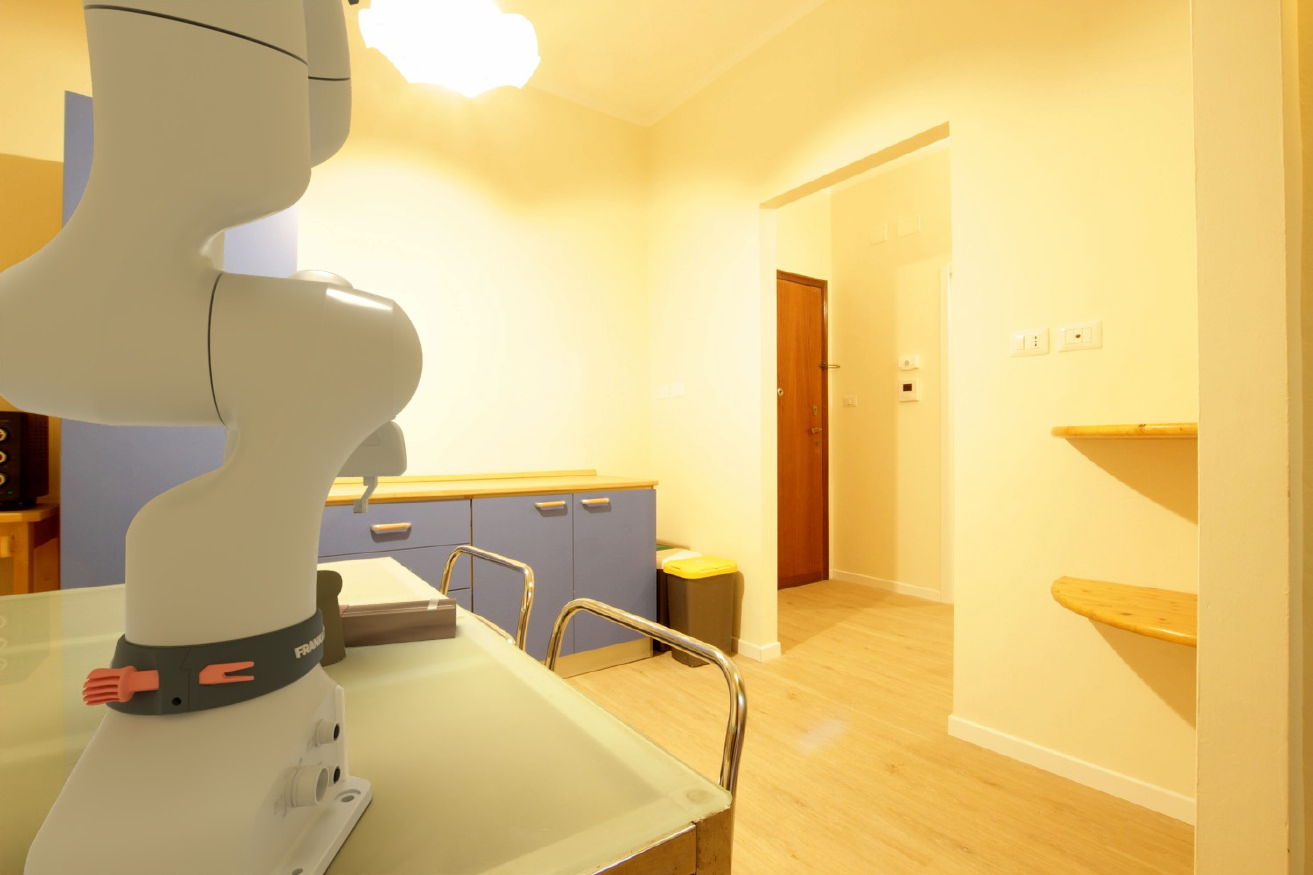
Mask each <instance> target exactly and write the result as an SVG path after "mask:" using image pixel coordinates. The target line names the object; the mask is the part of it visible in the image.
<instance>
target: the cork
mask: <svg viewBox="0 0 1313 875" xmlns="http://www.w3.org/2000/svg"><path fill="white" fill-rule="evenodd" d="M343 581H344V580H343V578H342V575H341V574H340V573H339V572H337V571H335V570H330V569H320V570H318V569H317V582H316V607H317V608H319V609H320V610H321V611H322V619H323V625H324V630H325V637H324V640H323V657H322V659H321V660H320V664H321V666H322V667H326V666H330V665H334V664H336V663H339V662H341V661H343V660H344V659H345V658H346V656H347V653H346V647H345V645H344V638H343V631H342V624H341V617H340V610H339V605H340V603H339V595H340V593H341V592H342V588H343Z"/></svg>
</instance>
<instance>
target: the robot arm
mask: <svg viewBox="0 0 1313 875" xmlns="http://www.w3.org/2000/svg"><path fill="white" fill-rule="evenodd" d="M347 1H348V3H349V5H350V6H354V5H358V4H359V3H360V0H347ZM82 8H83V17H84V23H85V32H86V33H85V34H86V38H87V39H86V40H87V41H86V42H87V48H88V57H89V68H90V70H89V71H90V78H91V79H90V80H91V95H92V109H93V111H92V113H93V114H92V116H93V155H92V163H91V169H90V173H89V177H88V180H87V183H86V186H85V189H84V191H83V194H82V197H81V199H80V201H79V203H78V205H77V207H76V208H75V210H74V212H73V213H72V215H71V217H70V218H69V219H68V221H67V222H66V224H65V225H64V226H63V227H62V229H60V231H59V232H58V233H57V234H56V235H55V236H53V238H52V239H51V240H50V241H49V242H48V243H46V244H45V245H44V246H43V247H42V248H41V249H39V250H38V251H36V252H35V253H33V254H32V255H30V256H28V257H27V258H25V259H23V260H22V261H20V262H17V263H16V264H13V265H11V266H10V267H8V268H6V269H5V270H3V271H2V272H0V397H1V398H3V400H5V401H6V402H7V403H9V405H11V406H13V407H15V408H16V409H18V410H20V411H23V412H27V413H31V414H37V415H41V416H42V415H43V416H47V417H54V418H59V419H65V420H72V421H78V422H84V423H90V424H91V423H92V424H98V425H104V426H110V427H111V426H112V427H196V428H198V427H205V428H208V427H210V428H211V427H216V428H219V427H220V428H224V434H225V436H226V441H225V446H224V450H223V451H224V452H223V461H222V465H221V466H220V467H218V468H216V469H214V470H212V471H209V472H206V473H203V474H201V475H199V476H196V477H194V478H192V479H189V480H187V481H184V482H182V483H181V484H178V485H176V486H174V487H172V488H170V489H168V490H166V491H164V492H163V493H160V494H158V495H157V496H155V497H153V498H152V499H151V500H149V501H148V502H146V503H145V504H144V505H143V506H142V507H141V509H139V511H138V512H137V513H136V514H135V516H134V517H133V519H132V521H131V522H130V524H129V527H128V529H127V530H126V531H127V532H126V534H125V561H124V562H125V565H124V566H125V567H124V568H125V571H124V575H125V576H124V577H125V578H124V580H125V581H124V582H125V584H124V633H123V634H122V635H121V636H120V637H119V638H118V639H117V642H116V645H115V649H114V650H115V651H114V654H113V658H112V659H111V661H110V663H109V666H108V667H103V668H102V667H100V668H95V669H92V670H91V671H90V672H89V673H88V675H87V677H86V678H85V679H86V681H85V682H83V683H84V684H83V686H82V689H83V690H82V694H81V695H82V696H83V698H82V701H83V702H84V703H85V702H86V703H85V705H87V706H88V707H89V706H91V707H92V706H99V705H104V704H105V705H106V706H107V707H108V708H107V709H106V712H105V714H104V717H103V718H102V720H101V721H100V724H99V725H98V727H97V729H96V730H95V732H94V734H93V736H92V737H91V739H90V740H89V741H88V743H87V744H86V747H85V748H84V750H83V752H82V753H81V755H80V757H79V758H78V760H77V762H76V764H75V766H74V767H73V769H72V771H71V773H70V775H69V776H68V778H67V780H66V782H65V784H64V785H63V787H62V789H61V790H60V791H59V794H58V796H57V797H56V799H55V801H54V803H53V804H52V806H51V808H50V809H49V812H48V814H47V815H46V817H45V819H44V820H43V822H42V824H41V826H40V828H39V830H38V831H37V833H36V835H35V837H34V839H33V841H32V843H31V844H30V847H29V849H28V852H27V855H26V859H25V864H24V868H23V874H22V875H324V873H325V872H326V870H327V868H328V867H329V866H330V864H331V862H332V861H333V860H334V858H335V857H336V855H337V853H338V852H339V850H340V849H341V847H342V846H343V844H344V843H345V841H346V839H347V838H348V837H349V835H350V833H351V831H352V830H353V829H354V827H355V826H356V824H357V822H358V821H359V819H360V817H361V816H362V815H363V813H364V811H365V810H366V809H367V807H368V806H369V804H370V802H371V800H372V798H373V788H372V784H371V782H370V780H368V779H367V778H363V777H359V776H355V775H351V774H349V757H348V756H349V755H348V753H349V752H348V733H347V732H348V731H347V730H348V729H347V716H346V715H347V712H346V693H345V689H344V687H343V686H341V685H340V684H339V683H338V682H336V681H335V680H334V679H332V678H331V677H330V676H329V675H328V673H327V672H326V671H325V670H324V668H323V666H321V664H320V660H321V659H322V657H323V640H324V637H325V630H324V625H323V619H322V611H321V610H320V609H319V608H317V607H316V582H317V571H318V559H319V545H320V535H321V529H322V528H321V527H322V522H323V521H322V520H323V519H322V518H323V514H324V510H325V506H326V503H327V500H328V496H329V493H330V492H331V489H332V487H333V484H334V482H335V481H336V479H337V478H362V481H363V482H362V485H363V486H364V487H366V489H365V491H364V492H363V494H362V496H361V497H360V498H355V499H353V503H352V504H353V505H352V506H354V507H353V509H352V510H353V514H367V513H369V499H370V498H371V497H372V495H373V493H374V491H375V490H376V488H377V487H378V485H379V484H378V482H379V479H378V478H380V477H382V478H383V477H385V478H386V477H401V476H402V475H403V474H405V472H406V471H407V468H408V460H407V459H408V458H407V456H408V455H407V446H406V442H405V436H404V432H403V430H402V428H401V427H400V425H399V424H398V423H396V422H395V421H394V420H395V419H396V417H397V415H399V414H400V413H401V412H402V411H403V410H404V409H405V408H406V407H407V406H408V404H409V403H410V402H411V401H412V398H413V397H414V395H415V393H416V392H417V389H418V387H419V384H420V381H421V378H422V373H423V365H424V364H423V357H424V356H423V349H422V344H421V340H420V337H419V334H418V332H417V330H416V327H415V325H414V324H413V322H412V320H411V319H410V317H409V315H408V313H407V312H406V311H405V310H404V309H403V308H402V307H401V306H400V305H399V303H397V302H396V301H395V300H394V299H392V298H389V297H385V296H382V295H379V294H375V293H371V292H368V291H364V290H361V289H358V288H354V287H353V285H352V283H351V282H350V281H349V280H348V279H347V278H345V277H344V276H340V275H339V274H336V273H333V272H328V271H325V270H318V269H305V270H298V271H294V272H293V273H291V274H289V276H288V277H278V276H277V277H275V276H267V275H255V274H244V273H233V272H227V270H226V269H225V267H224V258H225V257H224V256H225V236H226V235H225V232H226V231H228V230H229V231H230V230H231V229H234V228H238V227H241V226H245V225H249V224H251V223H254V222H257V221H260V220H263V219H267V218H269V217H271V216H274V215H276V214H279V213H282V212H283V211H285V210H287V209H289V208H291V207H292V206H294V205H295V204H297V202H299V201H300V199H301V198H302V197H303V196H304V195H305V193H306V191H307V190H308V187H309V185H310V182H311V177H312V169H313V168H315V167H316V166H319V165H322V164H323V163H324V162H326V161H328V160H330V159H331V158H332V157H333V156H335V155H336V154H337V153H338V152H339V151H340V149H342V148H343V146H344V144H345V143H346V142H347V139H348V137H349V135H350V131H351V130H350V129H351V120H352V106H353V105H352V101H353V100H352V77H351V76H352V71H351V70H352V69H351V57H350V56H351V55H350V47H349V39H348V37H349V36H348V31H347V25H346V18H345V11H344V5H343V0H82Z"/></svg>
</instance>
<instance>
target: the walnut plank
mask: <svg viewBox="0 0 1313 875" xmlns="http://www.w3.org/2000/svg"><path fill="white" fill-rule="evenodd" d="M339 610H340V617H341V624H342V631H343V638H344V645H345V648H348V647H349V648H351V647H361V646H373V645H383V644H384V645H385V644H395V643H406V642H407V643H408V642H417V641H418V642H419V641H429V640H430V641H431V640H441V639H450V638H452V639H453V638H456V632H457V631H456V630H457V597H455V598H441V599H440V598H439V597H437V598H435V597H434V598H430V599H429V600H428V599H426V600H412V601H411V600H410V601H398V602H383V603H371V604H369V603H368V604H359V605H356V604H355V605H350V604H339Z"/></svg>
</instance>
